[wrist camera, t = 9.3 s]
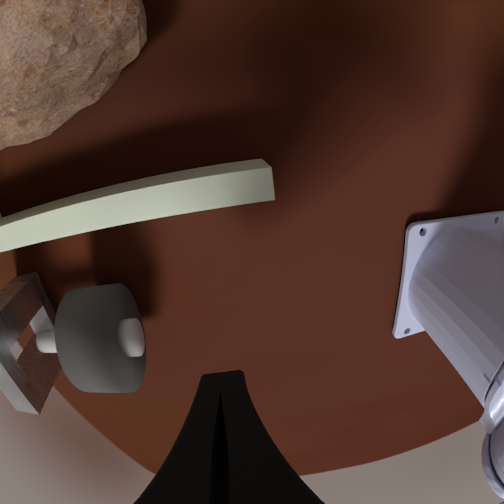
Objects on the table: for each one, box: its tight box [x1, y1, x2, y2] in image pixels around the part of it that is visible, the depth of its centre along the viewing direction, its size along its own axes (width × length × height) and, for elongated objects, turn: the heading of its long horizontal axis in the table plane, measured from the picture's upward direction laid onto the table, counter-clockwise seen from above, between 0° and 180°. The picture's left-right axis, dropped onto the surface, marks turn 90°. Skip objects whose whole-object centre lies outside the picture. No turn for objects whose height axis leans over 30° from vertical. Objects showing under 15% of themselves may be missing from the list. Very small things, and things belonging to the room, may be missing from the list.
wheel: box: [36, 283, 146, 393], centre depth 13 cm, size 6×5×5 cm
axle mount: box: [0, 272, 62, 414], centre depth 12 cm, size 2×6×6 cm, turn 7°
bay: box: [0, 159, 275, 252], centre depth 8 cm, size 16×18×3 cm
